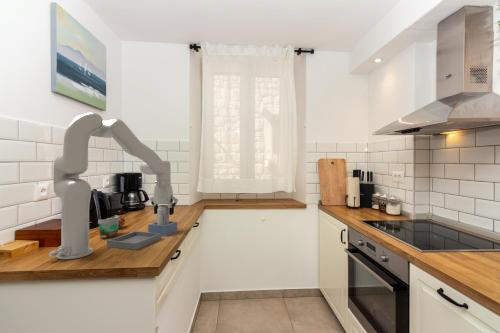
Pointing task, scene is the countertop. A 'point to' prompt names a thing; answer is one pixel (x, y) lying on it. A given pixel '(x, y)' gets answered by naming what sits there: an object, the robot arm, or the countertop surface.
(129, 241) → the tray
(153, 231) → the blue square box
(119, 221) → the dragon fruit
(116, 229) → the food container
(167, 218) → the energy drink can
